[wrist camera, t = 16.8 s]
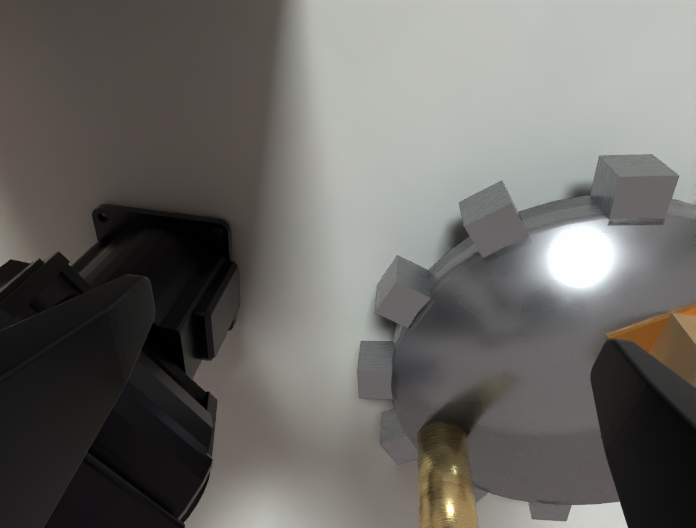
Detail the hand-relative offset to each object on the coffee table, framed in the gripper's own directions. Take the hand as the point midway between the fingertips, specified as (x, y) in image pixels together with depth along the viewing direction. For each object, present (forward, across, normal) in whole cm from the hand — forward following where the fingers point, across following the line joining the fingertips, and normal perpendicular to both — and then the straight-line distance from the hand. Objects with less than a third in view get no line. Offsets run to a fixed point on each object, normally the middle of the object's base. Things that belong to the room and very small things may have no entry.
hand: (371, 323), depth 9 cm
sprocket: (+10, -10, +9) cm, 17 cm away
